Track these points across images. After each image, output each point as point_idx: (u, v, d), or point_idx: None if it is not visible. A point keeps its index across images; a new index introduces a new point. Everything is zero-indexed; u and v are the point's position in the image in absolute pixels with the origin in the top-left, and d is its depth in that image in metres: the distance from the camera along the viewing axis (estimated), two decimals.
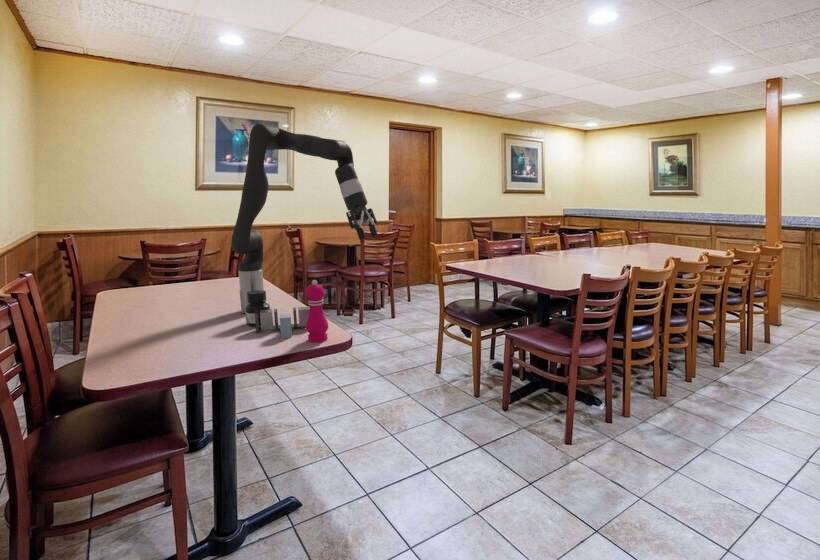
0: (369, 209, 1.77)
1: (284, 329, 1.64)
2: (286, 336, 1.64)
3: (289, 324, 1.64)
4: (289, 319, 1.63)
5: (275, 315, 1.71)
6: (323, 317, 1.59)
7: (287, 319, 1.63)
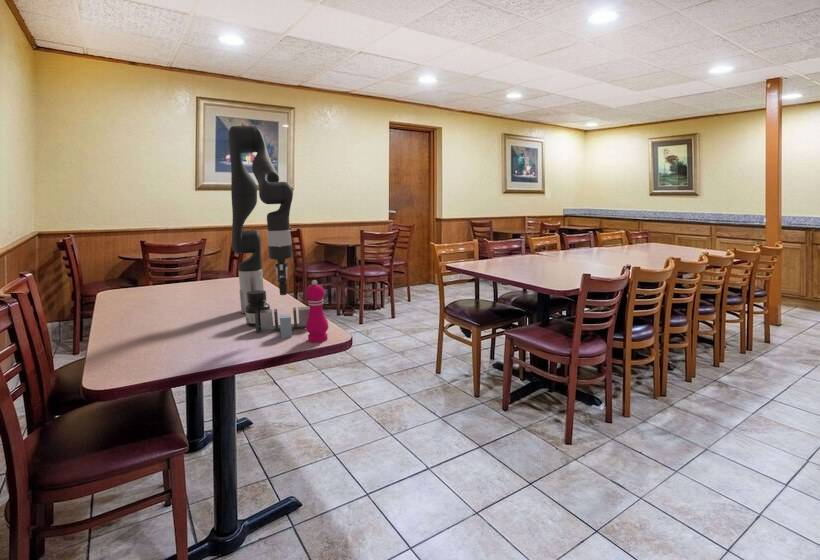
0: None
1: (284, 329, 1.64)
2: (286, 336, 1.64)
3: (289, 324, 1.64)
4: (289, 319, 1.63)
5: (275, 315, 1.71)
6: (323, 317, 1.59)
7: (287, 319, 1.63)
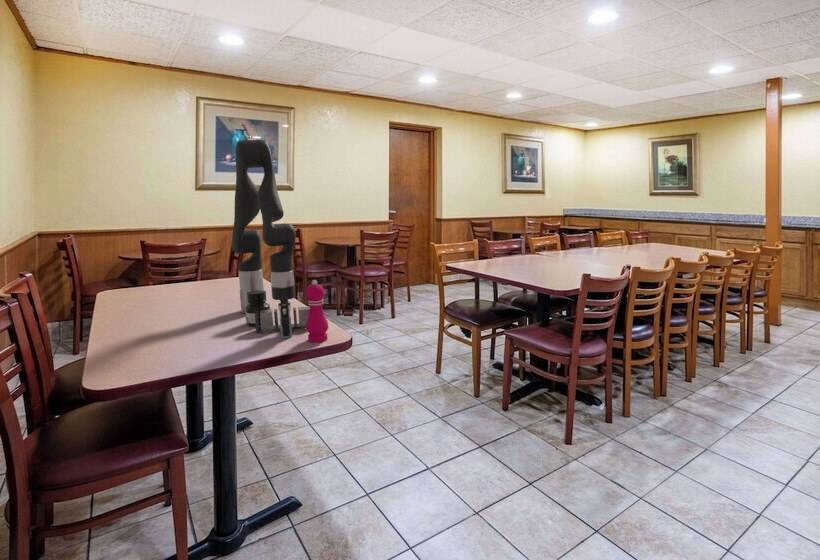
0: None
1: None
2: (286, 336, 1.64)
3: (289, 324, 1.64)
4: (289, 319, 1.63)
5: (275, 315, 1.71)
6: (323, 317, 1.59)
7: (287, 319, 1.63)
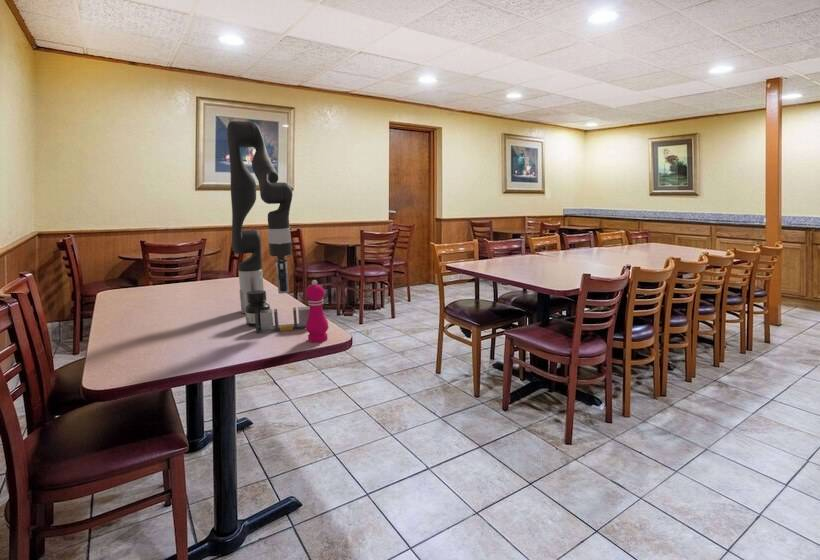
0: (284, 259, 1.76)
1: None
2: (283, 291, 1.70)
3: (286, 280, 1.70)
4: (286, 275, 1.70)
5: (275, 315, 1.71)
6: (323, 317, 1.59)
7: (284, 275, 1.69)
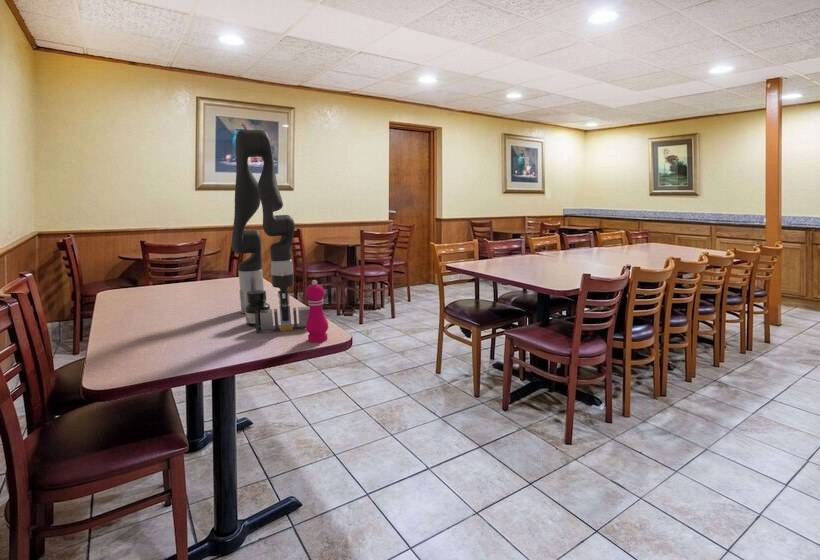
0: None
1: None
2: (286, 324, 1.73)
3: (288, 312, 1.73)
4: None
5: (275, 315, 1.71)
6: (323, 317, 1.59)
7: None
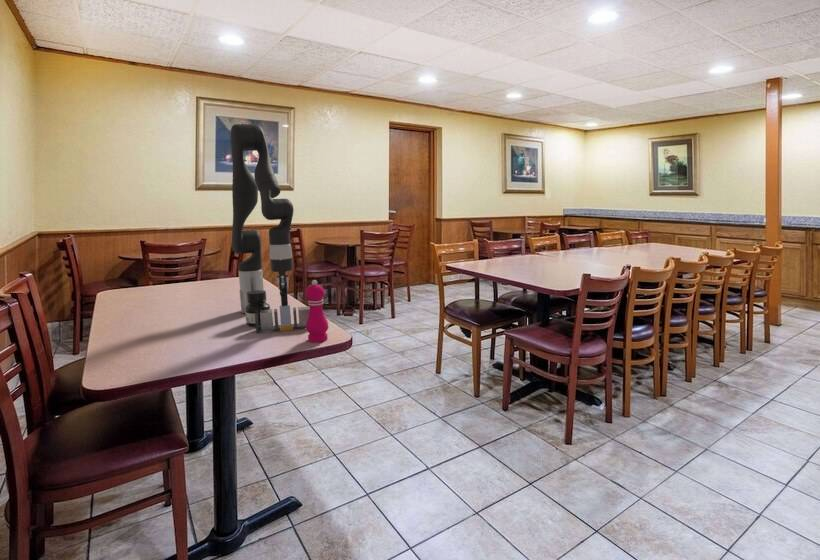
0: None
1: (283, 317, 1.72)
2: (286, 324, 1.73)
3: (288, 312, 1.73)
4: (288, 307, 1.73)
5: (275, 315, 1.71)
6: (323, 317, 1.59)
7: (286, 307, 1.73)
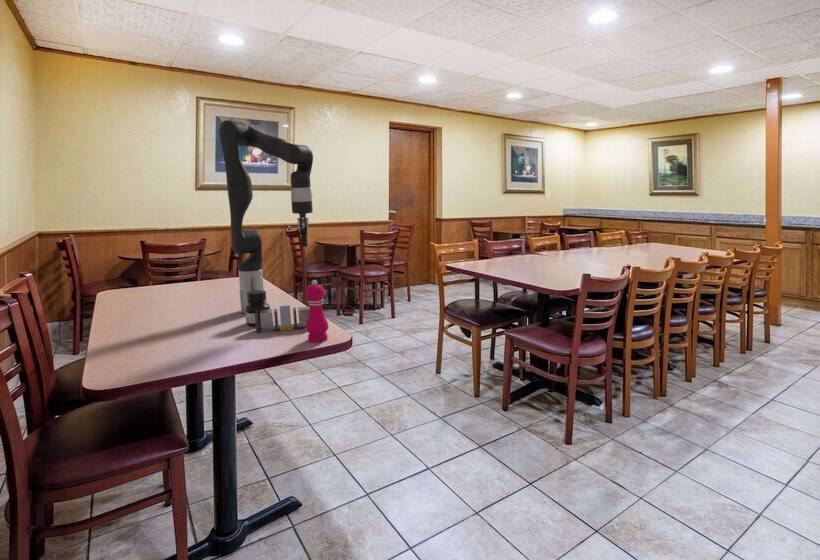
0: None
1: (283, 317, 1.72)
2: (286, 324, 1.73)
3: (288, 312, 1.73)
4: (288, 307, 1.73)
5: (275, 315, 1.71)
6: (323, 317, 1.59)
7: (286, 307, 1.73)
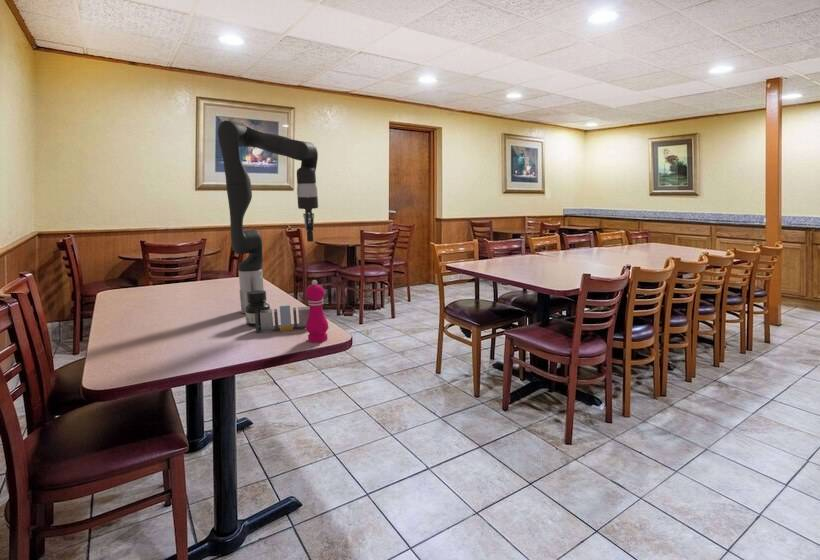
0: None
1: (283, 317, 1.72)
2: (286, 324, 1.73)
3: (288, 312, 1.73)
4: (288, 307, 1.73)
5: (275, 315, 1.71)
6: (323, 317, 1.59)
7: (286, 307, 1.73)
